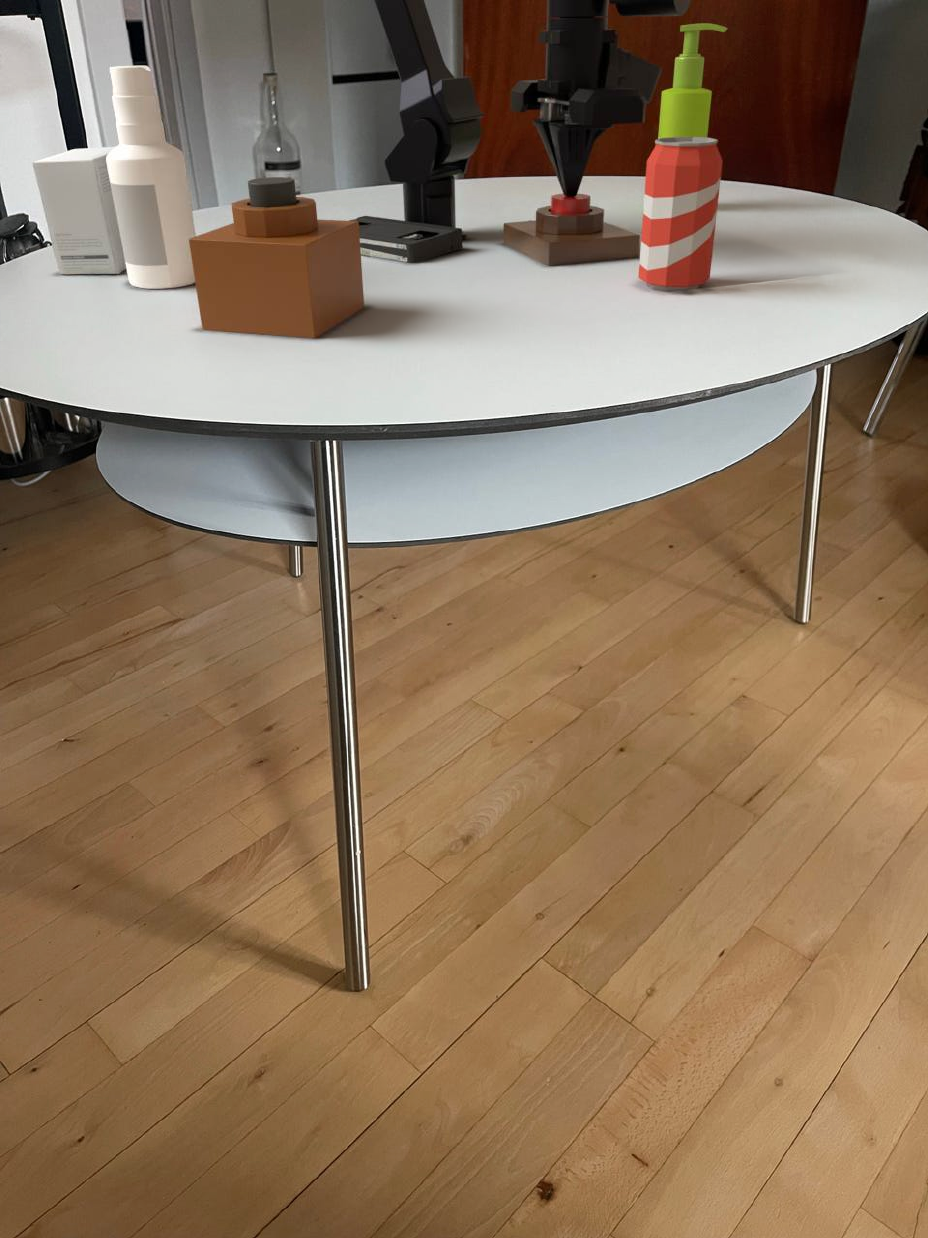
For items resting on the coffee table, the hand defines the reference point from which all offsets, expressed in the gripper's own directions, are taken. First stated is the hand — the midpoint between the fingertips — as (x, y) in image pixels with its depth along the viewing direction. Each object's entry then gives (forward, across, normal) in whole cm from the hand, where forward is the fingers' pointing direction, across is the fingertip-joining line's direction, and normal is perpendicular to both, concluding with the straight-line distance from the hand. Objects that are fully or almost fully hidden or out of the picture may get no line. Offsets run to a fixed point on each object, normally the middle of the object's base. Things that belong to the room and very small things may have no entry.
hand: (570, 196), depth 101 cm
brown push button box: (+5, -15, +33) cm, 37 cm away
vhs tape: (+6, +9, +17) cm, 20 cm away
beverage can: (+6, -18, -2) cm, 19 cm away
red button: (+2, 0, 0) cm, 2 cm away
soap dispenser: (+6, +18, -24) cm, 30 cm away
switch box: (+5, 0, 0) cm, 5 cm away
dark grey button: (-3, -15, +33) cm, 36 cm away
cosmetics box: (+6, +14, +46) cm, 48 cm away
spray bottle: (+6, +3, +41) cm, 41 cm away
